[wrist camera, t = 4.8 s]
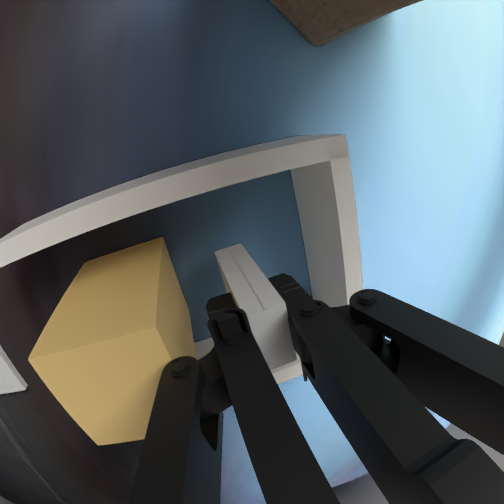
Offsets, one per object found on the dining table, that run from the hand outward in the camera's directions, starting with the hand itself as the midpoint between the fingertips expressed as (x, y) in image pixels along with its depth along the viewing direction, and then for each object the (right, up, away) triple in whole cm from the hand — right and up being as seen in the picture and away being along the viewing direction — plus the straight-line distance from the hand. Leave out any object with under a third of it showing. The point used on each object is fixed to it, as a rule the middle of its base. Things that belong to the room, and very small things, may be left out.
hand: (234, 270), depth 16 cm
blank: (-6, -1, +1) cm, 6 cm away
